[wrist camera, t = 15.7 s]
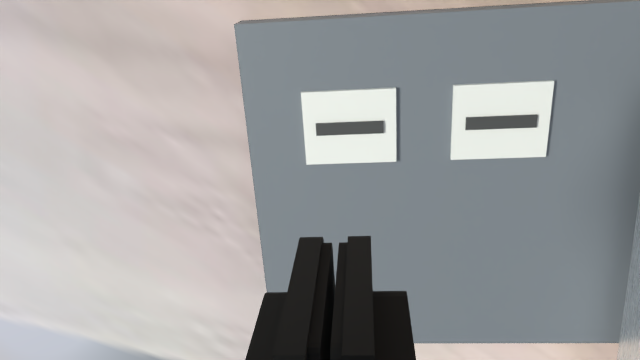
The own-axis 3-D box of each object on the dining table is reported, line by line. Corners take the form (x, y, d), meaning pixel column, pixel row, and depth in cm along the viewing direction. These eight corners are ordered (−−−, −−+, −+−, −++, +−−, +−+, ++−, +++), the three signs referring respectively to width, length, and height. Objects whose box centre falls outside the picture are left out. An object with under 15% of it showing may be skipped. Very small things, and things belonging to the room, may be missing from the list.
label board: (733, -9, 23) (762, -6, 21) (656, 325, 30) (673, 346, 28) (241, 20, 25) (232, 25, 23) (276, 326, 32) (272, 346, 30)
